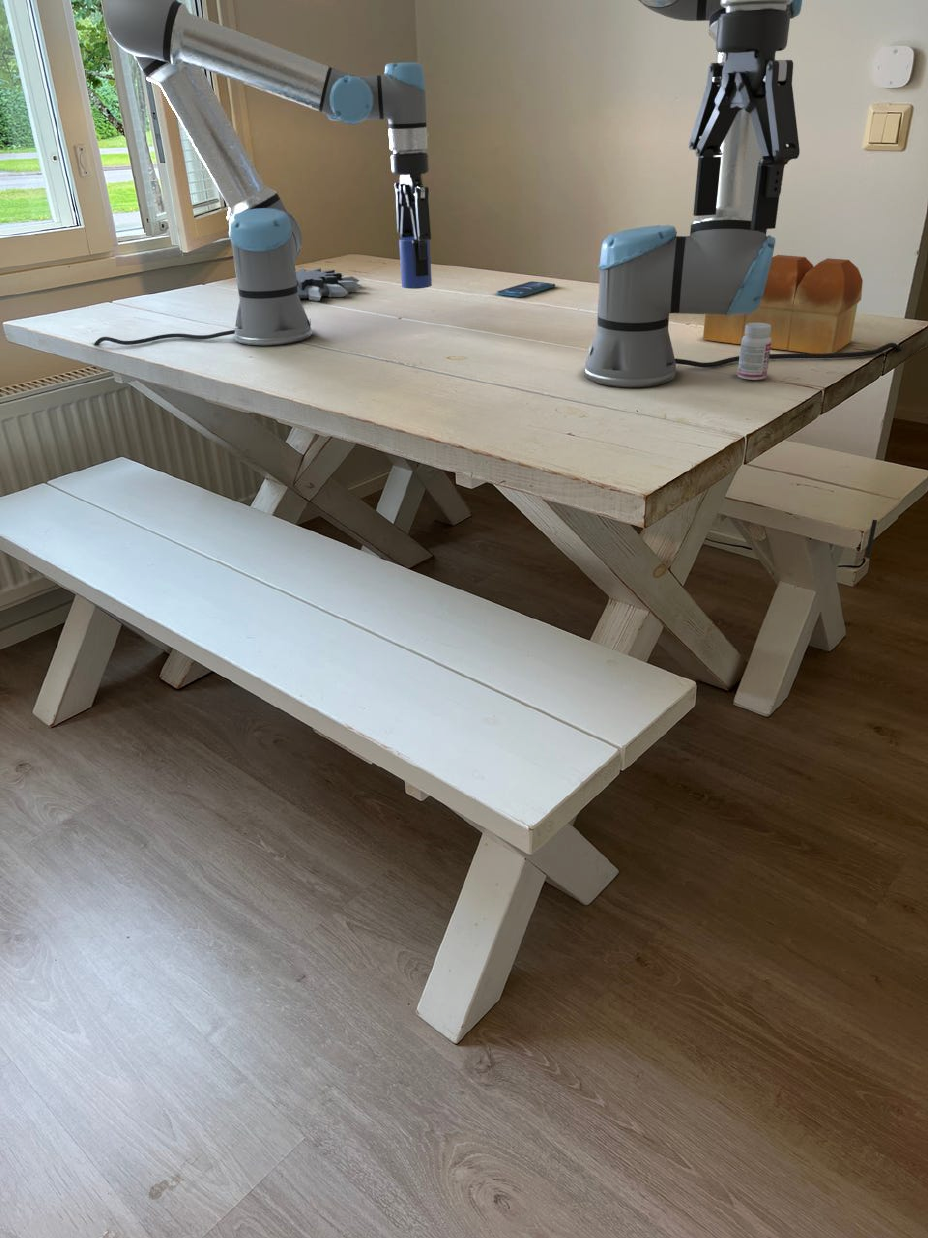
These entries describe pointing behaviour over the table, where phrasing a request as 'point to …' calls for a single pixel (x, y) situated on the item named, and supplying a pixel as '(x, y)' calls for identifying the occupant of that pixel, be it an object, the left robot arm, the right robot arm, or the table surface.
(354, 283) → the decorative piece
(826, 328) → the bread
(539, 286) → the smartphone
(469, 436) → the table surface
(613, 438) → the table surface
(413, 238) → the canister
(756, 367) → the pill bottle
